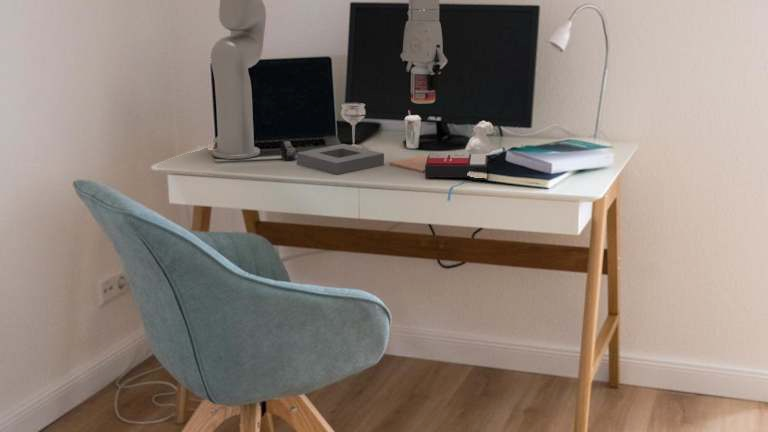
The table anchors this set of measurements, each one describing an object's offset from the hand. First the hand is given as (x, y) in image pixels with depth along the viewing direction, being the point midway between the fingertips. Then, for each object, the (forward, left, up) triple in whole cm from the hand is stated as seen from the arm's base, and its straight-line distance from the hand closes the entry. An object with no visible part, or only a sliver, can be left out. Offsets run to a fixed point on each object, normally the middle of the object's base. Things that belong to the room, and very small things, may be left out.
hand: (423, 87), depth 244 cm
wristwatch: (-29, -21, -20) cm, 41 cm away
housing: (-15, -15, -20) cm, 29 cm away
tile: (0, 0, -20) cm, 20 cm away
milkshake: (-17, +13, -20) cm, 29 cm away
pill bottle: (0, 0, -4) cm, 4 cm away
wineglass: (-28, +1, -20) cm, 35 cm away
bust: (+5, +16, -20) cm, 26 cm away
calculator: (+13, -1, -20) cm, 24 cm away
